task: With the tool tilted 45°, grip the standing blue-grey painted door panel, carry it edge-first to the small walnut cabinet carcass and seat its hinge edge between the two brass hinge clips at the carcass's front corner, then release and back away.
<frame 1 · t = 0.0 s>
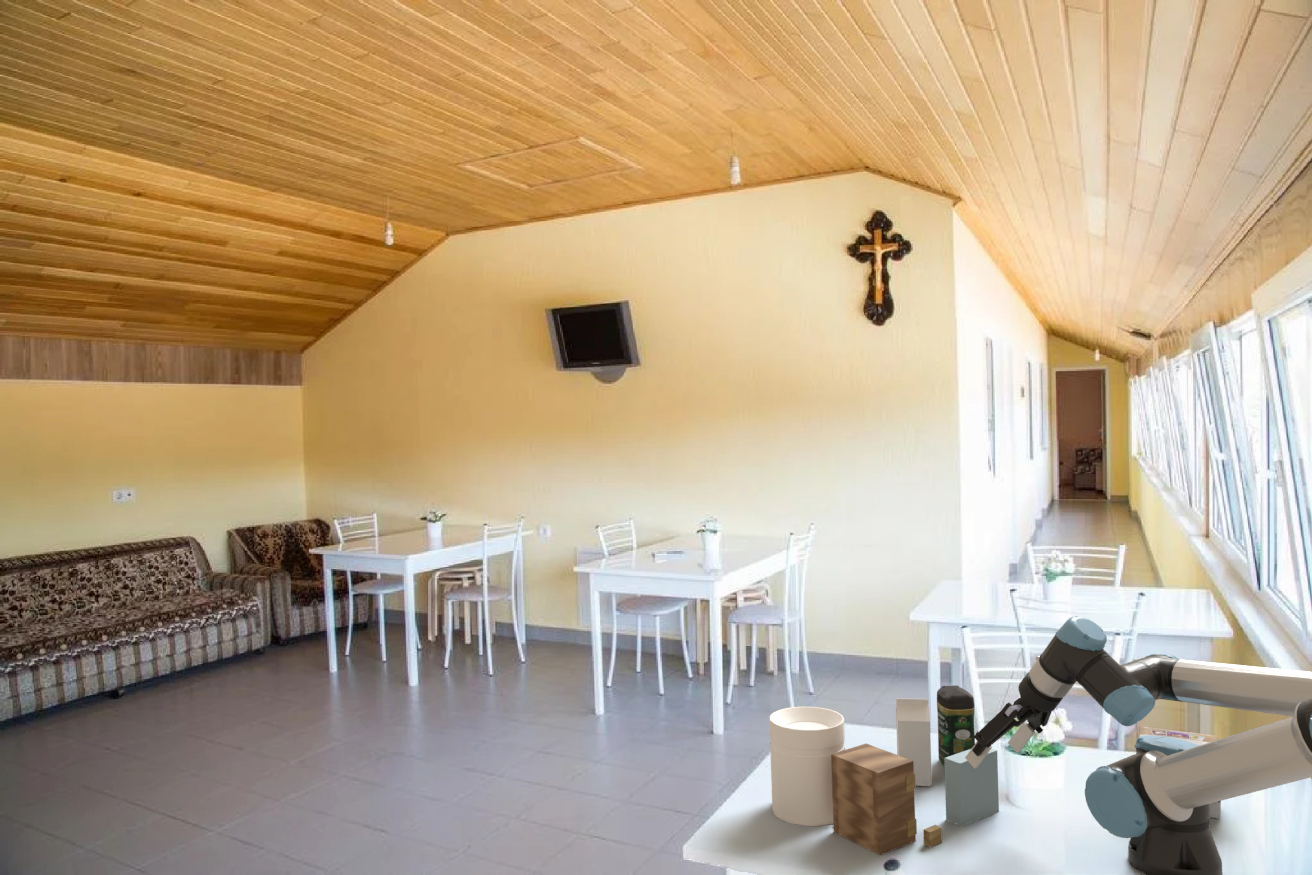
hand: (992, 755, 187), 15 cm above the table, tool tilted 35°, fingers open, 13 cm apart
door: (972, 815, 195), on the table
tea box: (1179, 805, 196), on the table
cabinet: (877, 833, 187), on the table
milk carton: (914, 781, 214), on the table
coffee jar: (957, 765, 222), on the table
canister: (809, 810, 200), on the table
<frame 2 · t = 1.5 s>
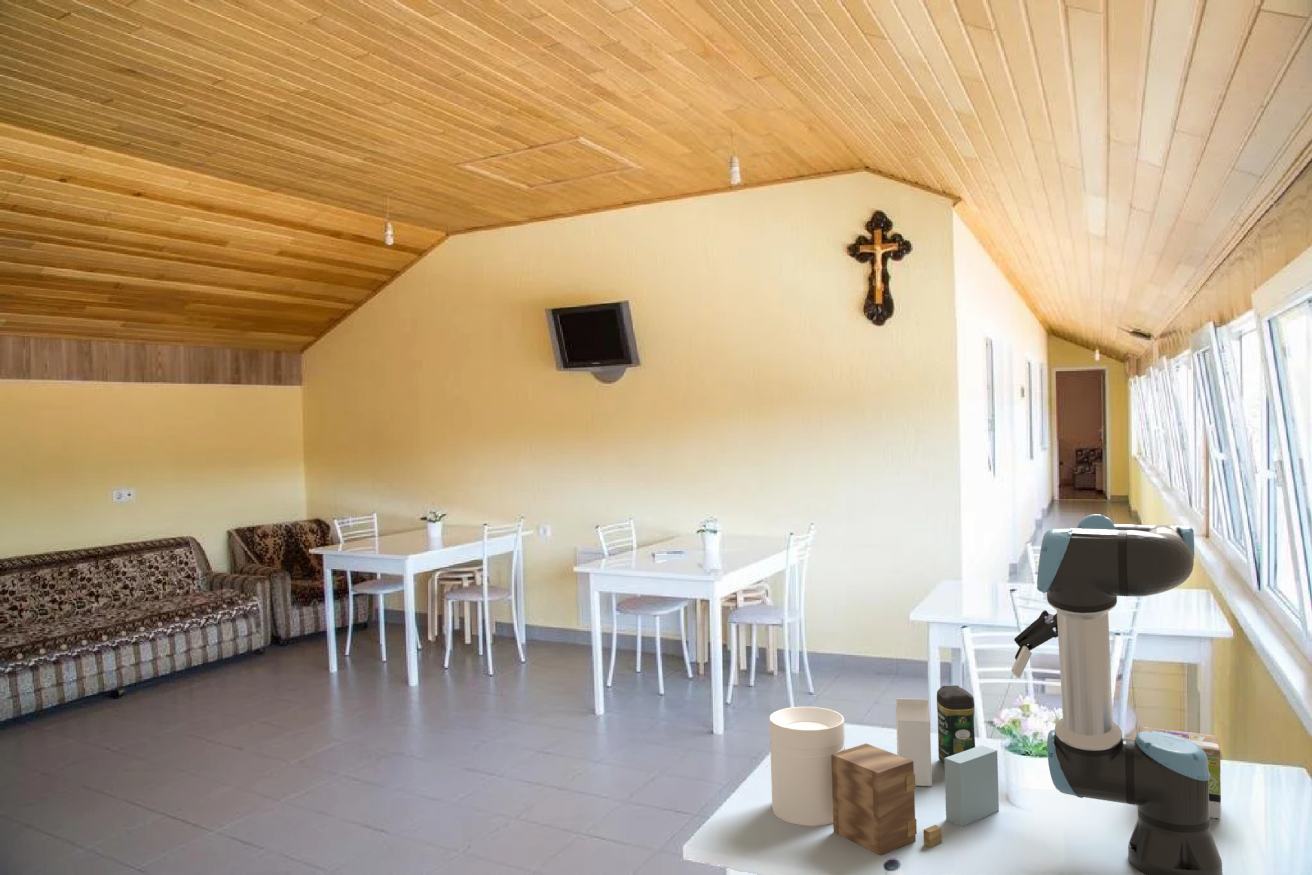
hand: (1043, 681, 196), 27 cm above the table, tool tilted 45°, fingers open, 13 cm apart
nothing on the table moved.
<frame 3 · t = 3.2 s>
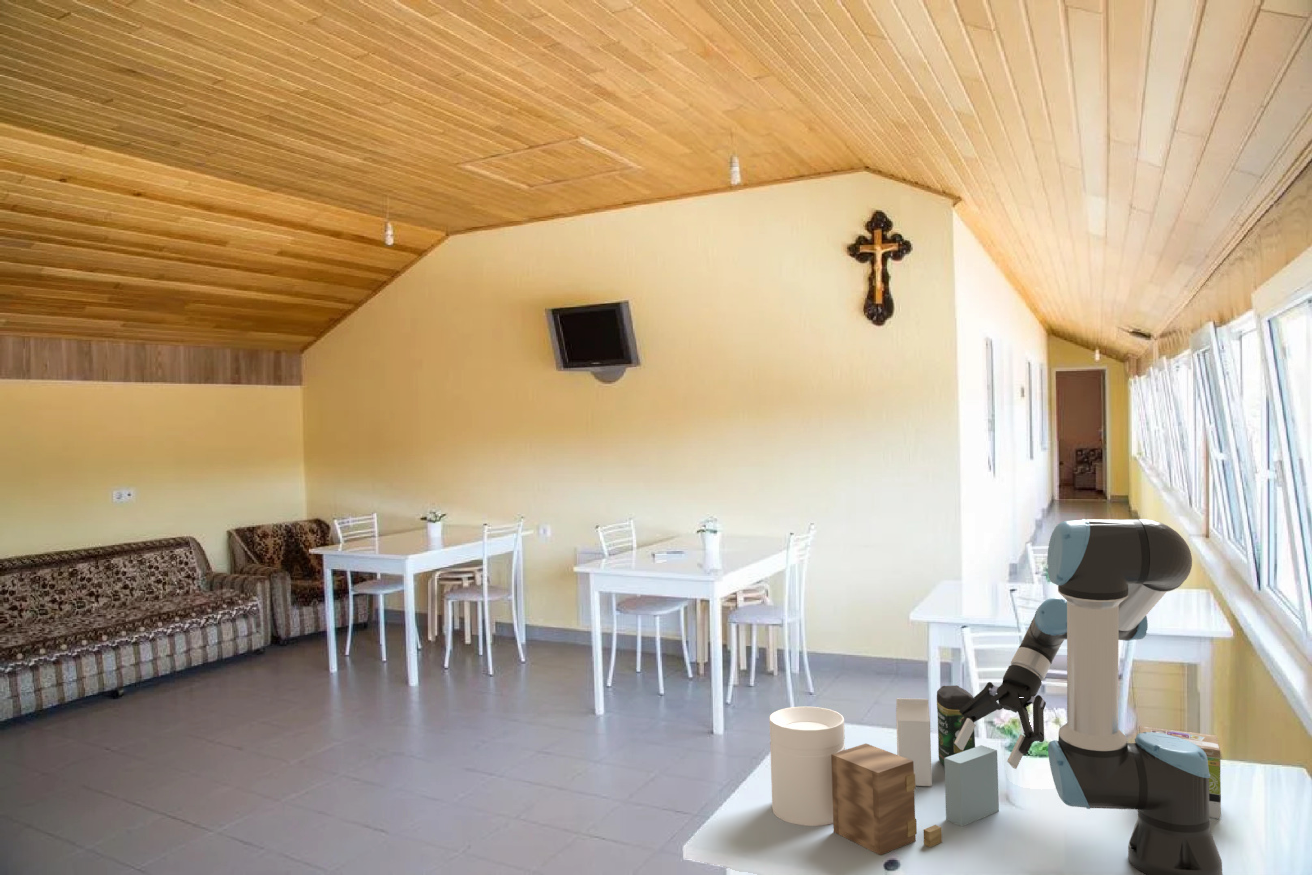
hand: (984, 755, 199), 11 cm above the table, tool tilted 45°, fingers open, 13 cm apart
nothing on the table moved.
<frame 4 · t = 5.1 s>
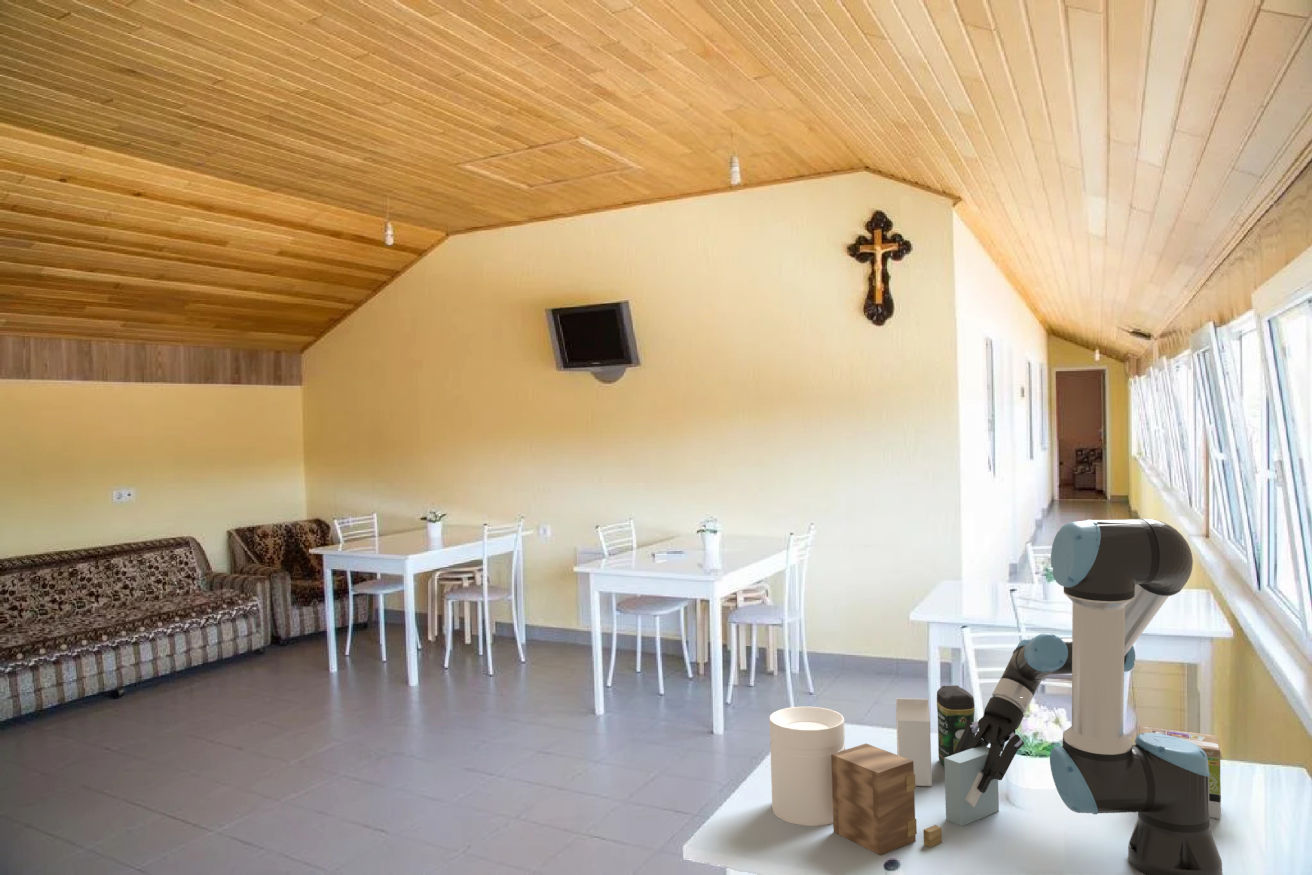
hand: (960, 799, 192), 4 cm above the table, tool tilted 45°, fingers closed on door, 4 cm apart
door: (972, 815, 195), on the table, touching gripper
everything else where it was.
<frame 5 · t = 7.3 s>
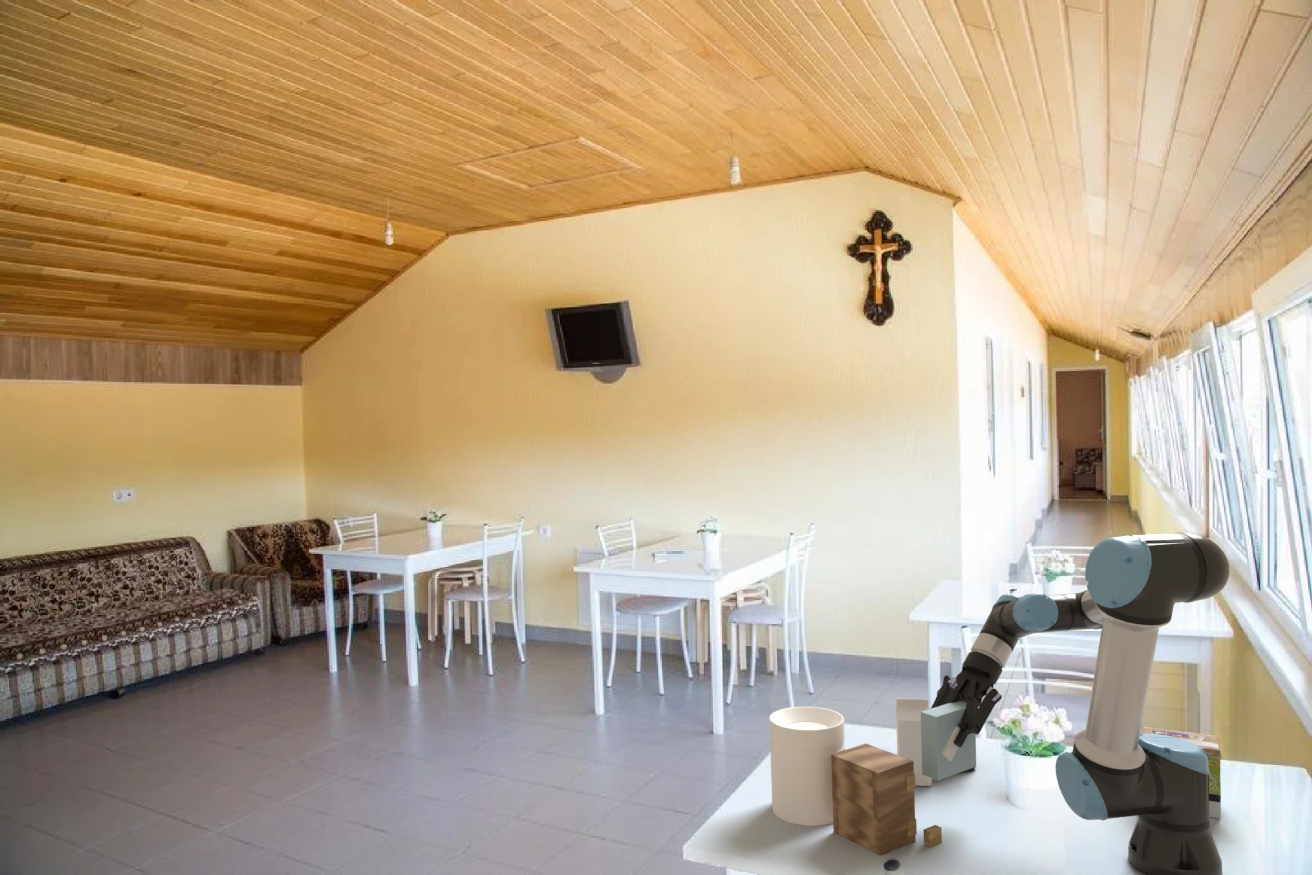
hand: (936, 754, 189), 15 cm above the table, tool tilted 45°, fingers closed on door, 4 cm apart
door: (949, 770, 192), point 11 cm above the table, touching gripper
everything else where it was.
when the fingers open (7 cm above the table, at t = 9.5 s): door drops 2 cm, on the table.
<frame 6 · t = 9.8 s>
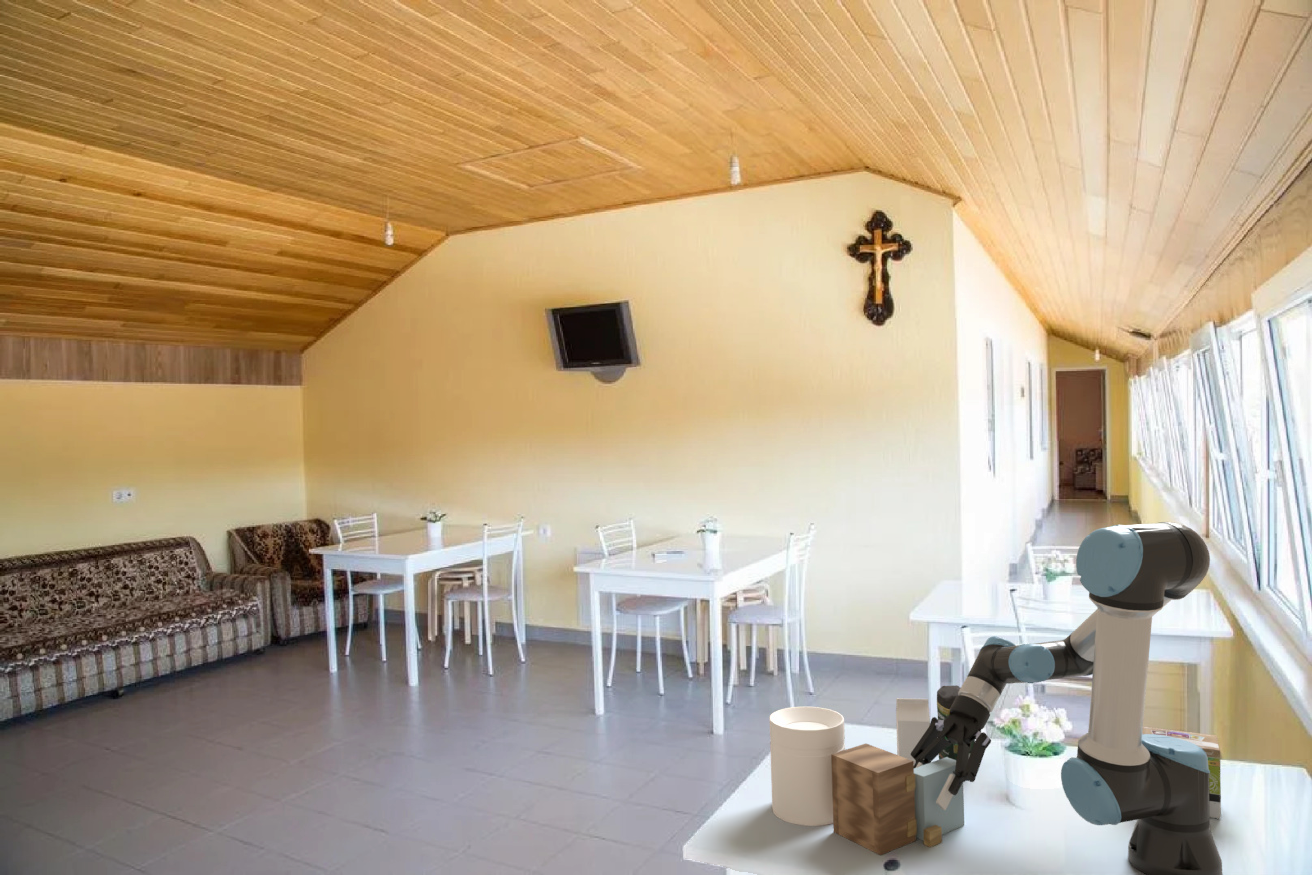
hand: (924, 799, 186), 7 cm above the table, tool tilted 45°, fingers open, 7 cm apart
door: (937, 829, 188), on the table
everything else where it was.
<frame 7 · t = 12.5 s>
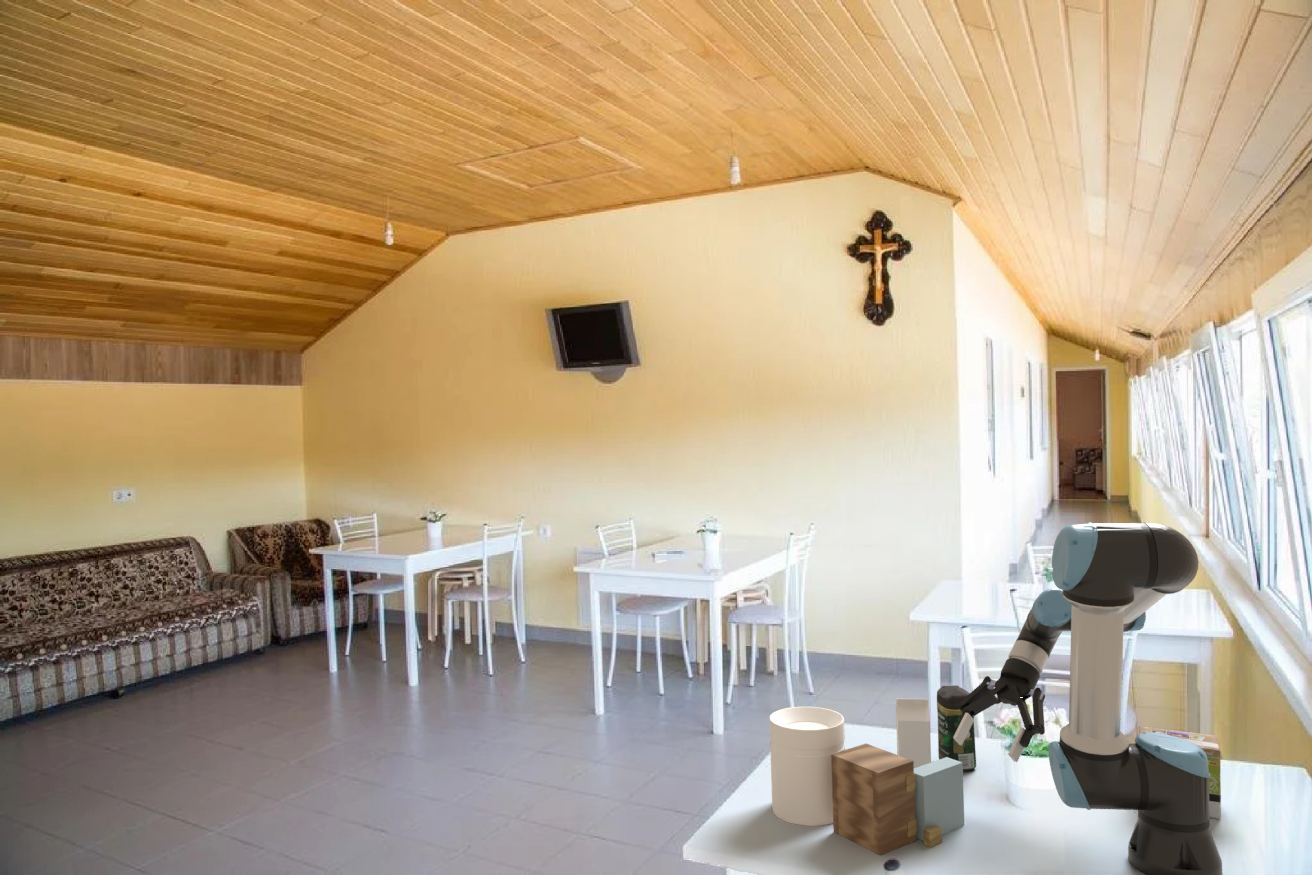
hand: (984, 749, 196), 13 cm above the table, tool tilted 45°, fingers open, 13 cm apart
nothing on the table moved.
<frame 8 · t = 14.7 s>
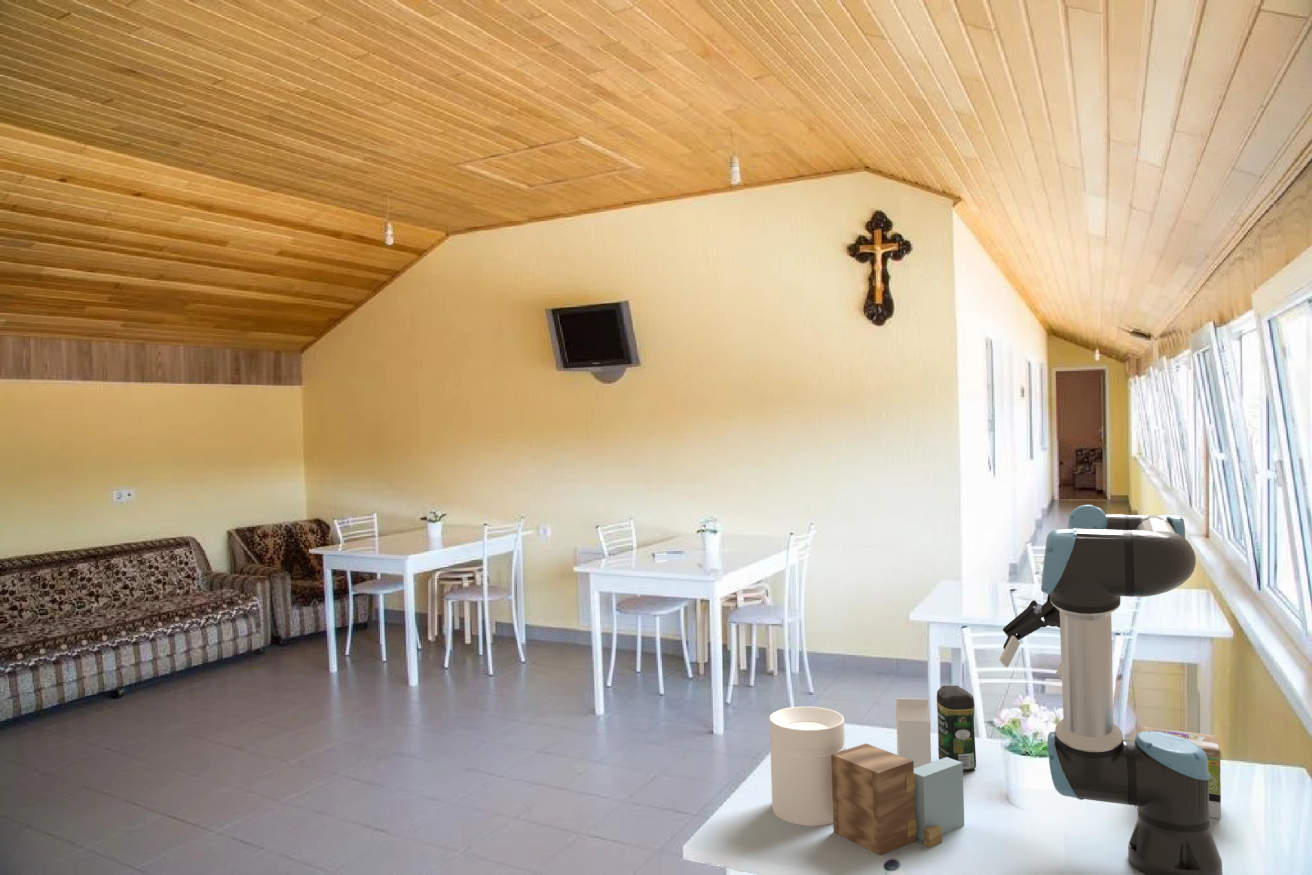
hand: (1031, 670, 196), 30 cm above the table, tool tilted 45°, fingers open, 13 cm apart
nothing on the table moved.
at the end: door 0.3 cm from the target spot, on the table; door tilted 0°; the gripper is holding nothing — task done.
